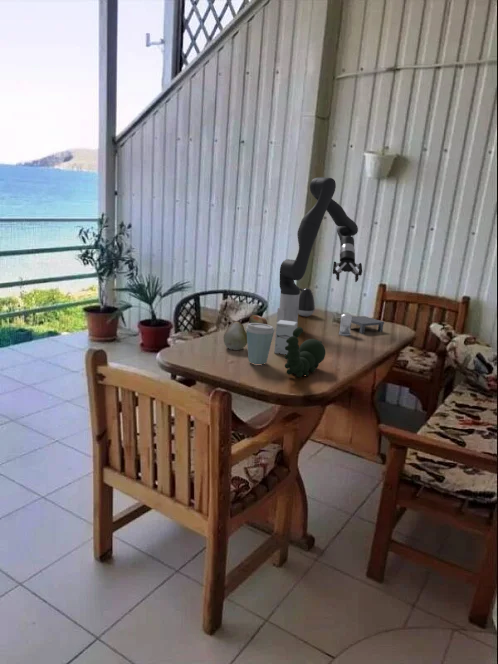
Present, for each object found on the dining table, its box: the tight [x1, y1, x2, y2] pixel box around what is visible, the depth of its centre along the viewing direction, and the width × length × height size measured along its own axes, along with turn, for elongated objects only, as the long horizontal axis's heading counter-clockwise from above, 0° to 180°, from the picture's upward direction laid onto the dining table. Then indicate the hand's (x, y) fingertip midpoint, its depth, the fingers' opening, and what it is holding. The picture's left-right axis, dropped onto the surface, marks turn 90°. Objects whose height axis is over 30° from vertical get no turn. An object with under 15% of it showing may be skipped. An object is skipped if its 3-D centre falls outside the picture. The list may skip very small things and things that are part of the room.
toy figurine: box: [284, 326, 326, 378], centre depth 179 cm, size 10×19×26 cm
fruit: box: [223, 319, 248, 351], centre depth 205 cm, size 10×9×12 cm
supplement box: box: [273, 320, 298, 355], centre depth 204 cm, size 7×7×13 cm
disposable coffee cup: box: [245, 322, 275, 364], centre depth 187 cm, size 11×11×15 cm
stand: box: [351, 315, 385, 335], centre depth 253 cm, size 14×14×5 cm
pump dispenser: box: [298, 287, 316, 317], centre depth 278 cm, size 10×10×15 cm
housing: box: [338, 313, 353, 337], centre depth 240 cm, size 6×6×10 cm
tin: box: [248, 314, 269, 325], centre depth 232 cm, size 15×3×8 cm, turn 25°
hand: (347, 280), depth 247 cm, fingers open, 8 cm apart
